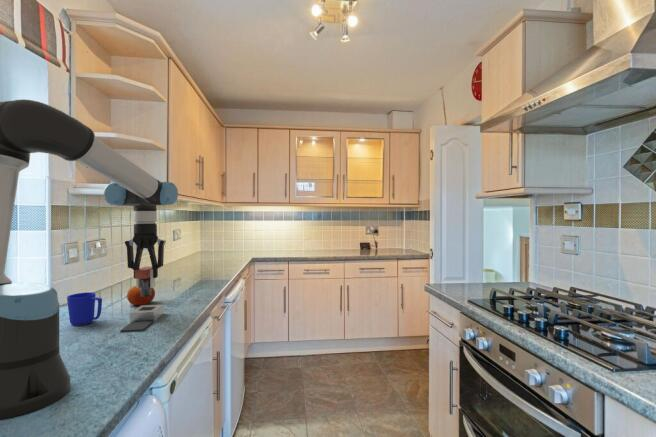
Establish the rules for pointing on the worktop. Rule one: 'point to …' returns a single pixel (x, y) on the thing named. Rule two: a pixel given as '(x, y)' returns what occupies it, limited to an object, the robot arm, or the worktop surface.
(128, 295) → the fruit
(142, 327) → the mat
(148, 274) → the key
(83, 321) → the mug
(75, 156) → the robot arm
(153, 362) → the worktop surface
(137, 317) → the block
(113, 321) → the worktop surface
